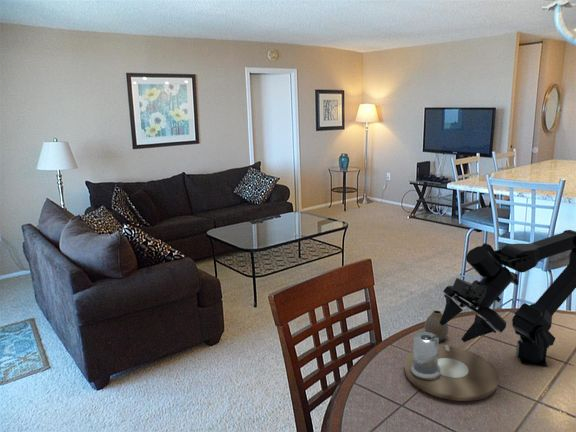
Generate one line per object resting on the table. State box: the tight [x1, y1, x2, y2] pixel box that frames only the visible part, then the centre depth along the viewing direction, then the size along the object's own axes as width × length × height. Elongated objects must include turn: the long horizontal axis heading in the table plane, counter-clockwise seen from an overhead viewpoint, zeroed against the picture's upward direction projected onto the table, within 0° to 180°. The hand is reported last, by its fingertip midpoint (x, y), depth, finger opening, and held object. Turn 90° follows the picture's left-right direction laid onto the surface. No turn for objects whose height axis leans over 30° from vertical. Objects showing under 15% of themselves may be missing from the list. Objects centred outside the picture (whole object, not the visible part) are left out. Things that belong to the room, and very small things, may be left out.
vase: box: [424, 309, 449, 342], centre depth 136 cm, size 7×7×9 cm
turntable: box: [404, 344, 499, 402], centre depth 117 cm, size 23×23×2 cm
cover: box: [411, 331, 440, 381], centre depth 114 cm, size 7×7×10 cm
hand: (451, 332), depth 114 cm, fingers open, 9 cm apart
